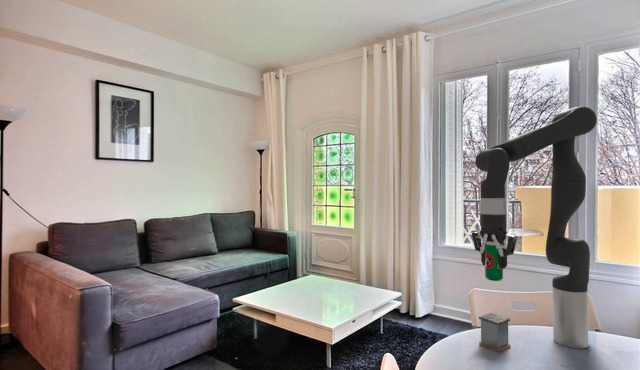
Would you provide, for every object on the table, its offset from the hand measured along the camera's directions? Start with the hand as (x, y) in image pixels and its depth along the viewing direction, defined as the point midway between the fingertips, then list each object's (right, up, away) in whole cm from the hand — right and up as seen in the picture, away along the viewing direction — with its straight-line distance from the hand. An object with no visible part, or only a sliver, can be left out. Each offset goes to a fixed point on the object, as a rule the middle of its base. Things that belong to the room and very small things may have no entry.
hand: (493, 266), depth 113 cm
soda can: (0, -4, 0) cm, 4 cm away
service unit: (0, -25, 0) cm, 25 cm away
